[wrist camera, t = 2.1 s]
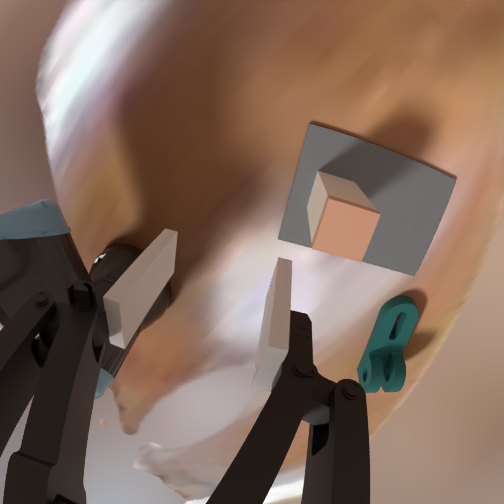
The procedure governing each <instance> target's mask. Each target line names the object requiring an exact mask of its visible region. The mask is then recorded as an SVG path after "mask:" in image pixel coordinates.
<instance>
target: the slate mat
mask: <svg viewBox="0 0 504 504" xmlns="http://www.w3.org/2000/svg"><path fill="white" fill-rule="evenodd" d="M317 171H320V172H324V173H327V174H331V175H334V176H337V177H340V178H344V179H347V180H350V181H353V182H355V183H356V184H357V185H358V187H359V188H360V189H361V190H362V192H363V193H364V194H365V195H366V197H367V198H368V199H369V200H370V202H371V203H372V204H373V205H374V207H375V208H376V209H377V211H378V212H379V213H380V217H379V220H378V223H377V225H376V228H375V230H374V233H373V235H372V238H371V240H370V242H369V245H368V247H367V250H366V252H365V254H364V257H363V259H362V262H366V263H369V264H373V265H377V266H380V267H384V268H387V269H391V270H395V271H398V272H402V273H405V274H409V275H412V276H415V274H416V272H417V270H418V268H419V266H420V264H421V262H422V260H423V258H424V256H425V254H426V252H427V250H428V248H429V245H430V243H431V241H432V239H433V237H434V234H435V232H436V230H437V228H438V225H439V223H440V221H441V218H442V216H443V213H444V211H445V208H446V206H447V203H448V201H449V198H450V195H451V193H452V190H453V187H454V184H455V181H456V180H455V179H453V178H451V177H449V176H447V175H445V174H443V173H441V172H439V171H437V170H435V169H433V168H431V167H428V166H426V165H424V164H422V163H419V162H417V161H415V160H413V159H410V158H408V157H405V156H403V155H401V154H398V153H396V152H393V151H391V150H388V149H385V148H383V147H380V146H378V145H375V144H372V143H369V142H367V141H364V140H361V139H358V138H355V137H352V136H349V135H346V134H343V133H340V132H337V131H334V130H330V129H327V128H324V127H320V126H317V125H313V124H310V123H309V125H308V129H307V133H306V137H305V141H304V145H303V148H302V152H301V156H300V160H299V163H298V167H297V171H296V174H295V178H294V182H293V186H292V189H291V193H290V196H289V200H288V204H287V207H286V211H285V215H284V218H283V222H282V225H281V229H280V232H279V236H278V239H279V240H283V241H287V242H291V243H294V244H298V245H302V246H306V247H310V248H312V243H311V235H310V227H309V219H308V211H307V205H308V202H309V198H310V195H311V192H312V188H313V185H314V181H315V178H316V174H317Z"/></svg>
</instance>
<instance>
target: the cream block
mask: <svg viewBox="0 0 504 504" xmlns="http://www.w3.org/2000/svg"><path fill="white" fill-rule="evenodd" d="M307 211H308V219H309V227H310V235H311V243H312V249H314V250H318V251H322V252H326V253H330V254H333V255H337V256H341V257H344V258H348V259H352V260H356V261H359V262H361V261H362V259H363V257H364V254H365V252H366V250H367V247H368V245H369V242H370V240H371V238H372V235H373V233H374V230H375V228H376V225H377V223H378V220H379V217H380V213H379V212H378V211H377V209H376V208H375V207H374V205H373V204H372V203H371V202H370V200H369V199H368V198H367V197H366V195H365V194H364V193H363V192H362V190H361V189H360V188H359V187H358V185H357V184H356V183H355V182H353V181H350V180H347V179H344V178H340V177H337V176H334V175H331V174H327V173H324V172H320V171H317V174H316V178H315V181H314V185H313V188H312V192H311V195H310V198H309V202H308V205H307Z"/></svg>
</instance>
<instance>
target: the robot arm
mask: <svg viewBox="0 0 504 504" xmlns="http://www.w3.org/2000/svg"><path fill="white" fill-rule="evenodd" d="M70 232H71V229H70V227H68V225H67V223H66V221H65V219H64V216H63V214H62V212H61V209H60V207H59V205H58V204H57V203H56V202H55V201H53V200H51V199H43V200H39V201H36V202H34V203H31V204H28V205H25V206H23V207H20V208H17V209H15V210H12V211H10V212H7V213H5V214H2V215H0V330H1V331H0V457H1V455H2V452H3V450H4V448H5V446H6V444H7V442H8V440H9V438H10V436H11V435H12V433H13V431H14V429H15V427H16V425H17V423H18V421H19V420H20V418H21V416H22V414H23V412H24V411H25V409H26V407H27V405H28V404H29V402H30V400H31V399H32V397H33V395H34V398H33V401H32V404H31V408H30V411H29V415H28V419H27V423H26V427H25V431H24V435H23V439H22V444H21V448H20V450H19V451H17V452H14V453H13V454H12V455H11V456H10V459H9V462H8V468H7V474H6V481H5V489H4V498H3V504H86V492H85V489H84V485H83V476H84V465H85V456H86V448H87V440H88V432H89V426H90V420H91V414H92V408H93V402H94V399H98V398H100V397H101V396H102V395H103V394H104V393H105V391H106V389H107V388H108V387H109V385H110V384H111V383H112V382H113V381H114V378H115V376H116V374H117V373H118V371H119V369H120V367H121V365H122V363H123V362H124V360H125V358H126V356H127V354H128V353H129V351H130V349H131V347H132V346H133V344H134V342H135V340H136V338H137V337H138V335H139V333H140V332H142V331H143V330H144V329H146V328H147V327H149V326H150V325H151V324H153V323H154V322H156V321H157V320H158V319H160V318H161V316H162V315H163V314H164V312H165V311H166V309H167V307H168V305H169V303H170V299H171V289H170V284H169V281H168V280H169V279H170V277H171V276H172V274H173V273H174V266H175V255H176V244H177V234H178V232H177V231H173V230H169V229H164V230H163V231H162V232H161V234H160V235H159V236H158V237H157V238H156V239H155V240H154V241H153V242H152V243H151V244H150V245H149V246H148V247H147V248H146V249H145V250H144V251H142V250H140V249H138V248H135V247H132V246H129V245H113V246H111V247H108V248H107V249H105V250H104V251H103V252H102V253H101V254H100V255H99V256H98V257H97V258H96V259H95V261H94V263H93V265H92V267H91V269H90V272H89V274H88V272H87V270H86V268H85V266H84V263H83V261H82V259H81V257H80V255H79V253H78V250H77V248H76V246H75V243H74V241H73V239H72V236H71V234H70ZM291 278H292V261H291V260H287V259H283V258H279V257H278V260H277V264H276V267H275V270H274V274H273V277H272V280H271V283H270V287H269V290H268V293H267V296H266V303H265V309H264V315H263V322H262V328H261V334H260V340H259V347H258V353H257V359H256V365H255V371H254V377H253V383H252V388H256V389H261V390H266V391H269V390H270V388H271V386H272V390H271V394H270V396H269V398H268V400H267V402H266V404H265V406H264V408H263V409H262V411H261V413H260V415H259V417H258V419H257V420H256V422H255V424H254V426H253V428H252V429H251V431H250V433H249V435H248V436H247V438H246V440H245V442H244V443H243V445H242V447H241V448H240V450H239V452H238V454H237V455H236V457H235V459H234V460H233V462H232V464H231V465H230V467H229V468H228V470H227V472H226V473H225V475H224V476H223V478H222V480H221V481H220V483H219V484H218V486H217V487H216V489H215V490H214V492H213V494H212V495H211V497H210V498H209V500H208V501H207V503H206V504H263V502H264V500H265V498H266V496H267V494H268V492H269V490H270V488H271V486H272V484H273V482H274V480H275V478H276V476H277V474H278V472H279V470H280V468H281V465H282V463H283V461H284V459H285V457H286V455H287V452H288V450H289V448H290V446H291V443H292V441H293V439H294V436H295V434H296V432H297V429H298V427H299V424H300V422H301V420H304V421H306V422H308V423H310V426H309V438H308V449H307V459H306V469H305V478H304V486H303V494H302V501H301V504H370V455H369V453H370V452H369V431H368V416H367V404H366V394H365V391H364V389H363V387H362V386H361V385H360V384H359V383H358V382H356V381H354V380H351V379H343V380H340V381H339V382H338V383H335V382H333V381H331V380H328V379H326V378H325V377H323V376H321V375H320V374H319V373H318V371H317V368H316V366H315V365H314V364H313V347H312V322H311V320H310V318H309V317H308V315H307V314H305V313H301V312H296V311H292V310H290V308H291Z"/></svg>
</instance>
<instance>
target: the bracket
mask: <svg viewBox="0 0 504 504" xmlns="http://www.w3.org/2000/svg"><path fill="white" fill-rule="evenodd" d="M399 313H401V315H400V317H399V320H398V322H397V325H396V327H395V329H394V330H393V331H392V328H393V326H394V323H395V321H396V318H397V316H398V314H399ZM418 318H419V312H418V309H417V307H416V305H415V303H414V301H413V300H412V299H411V298H409V297H407V296H398V297H394V298H392V299H390V300H388V301H387V302H386V303H385V304H384V305H383V306H382V307H381V309H380V311H379V314H378V317H377V320H376V323H375V325H374V328H373V331H372V333H371V336H370V339H369V341H368V344H367V346H366V349H365V351H364V354H363V356H362V358H361V361H360V363H359V365H358V368H357V371H358V378H359V384H360V385H361V386H362V387H363V389H364V391H365V393H376V392H378V390H379V389H380V387H381V386H382V389H383V391H384V392H398V391H400V390H401V389H402V387H403V385H404V382H405V377H406V365H405V361H404V358H403V355H402V353H403V350H404V348H405V346H406V344H407V342H408V340H409V338H410V336H411V334H412V332H413V329H414V327H415V325H416V323H417V321H418ZM391 331H392V332H391Z"/></svg>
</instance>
